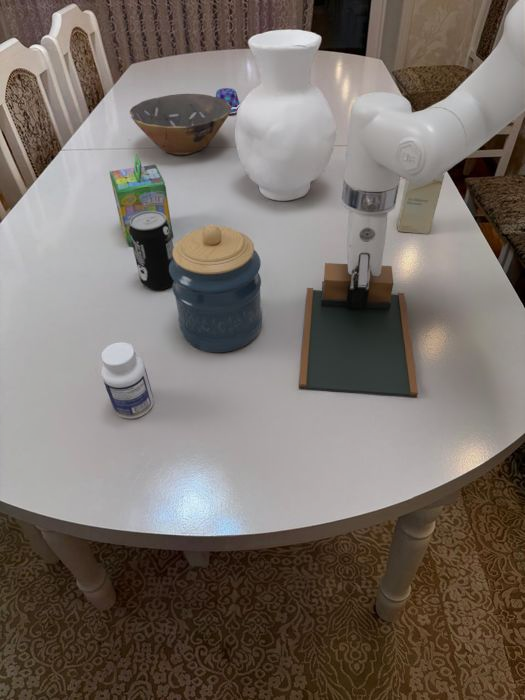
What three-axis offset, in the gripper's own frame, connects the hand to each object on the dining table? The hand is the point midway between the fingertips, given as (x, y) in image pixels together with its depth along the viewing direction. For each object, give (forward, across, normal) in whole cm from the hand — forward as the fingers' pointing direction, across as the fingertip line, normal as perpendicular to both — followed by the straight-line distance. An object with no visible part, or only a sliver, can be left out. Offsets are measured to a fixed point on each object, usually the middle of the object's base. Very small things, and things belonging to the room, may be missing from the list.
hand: (355, 295), depth 81 cm
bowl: (+1, +61, +43) cm, 74 cm away
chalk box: (+1, +19, +41) cm, 45 cm away
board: (+1, -9, 0) cm, 9 cm away
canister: (+1, -8, +21) cm, 23 cm away
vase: (+1, +39, +15) cm, 42 cm away
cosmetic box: (+1, +25, -12) cm, 28 cm away
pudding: (+1, +91, +36) cm, 98 cm away
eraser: (0, 0, 0) cm, 0 cm away
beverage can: (+1, +3, +34) cm, 34 cm away
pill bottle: (+1, -25, +30) cm, 39 cm away
